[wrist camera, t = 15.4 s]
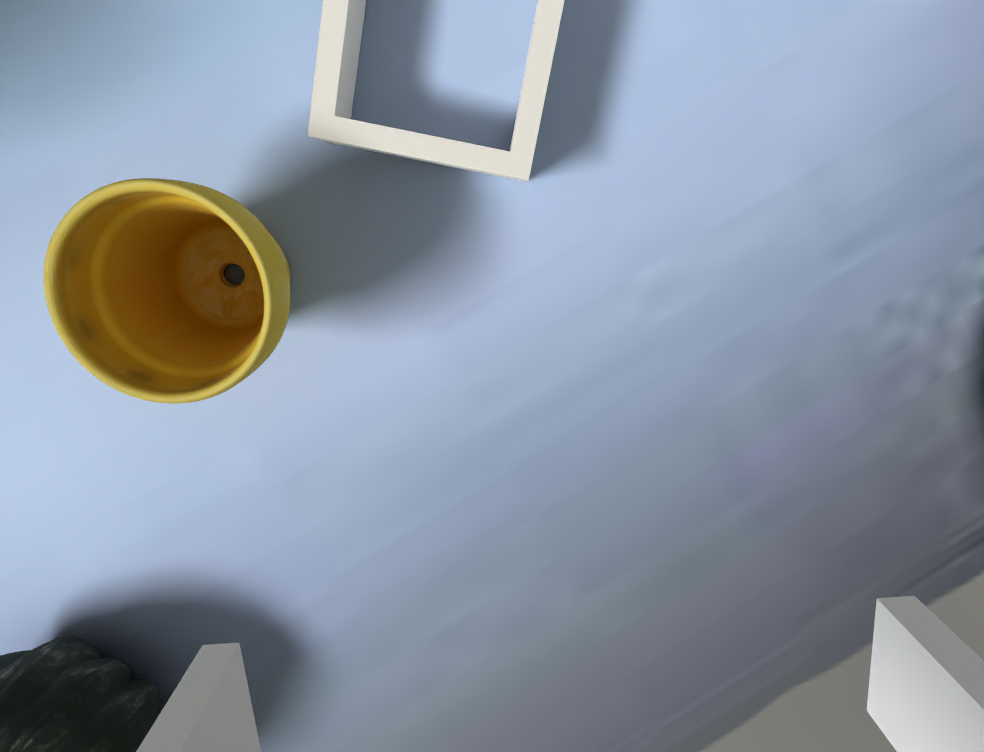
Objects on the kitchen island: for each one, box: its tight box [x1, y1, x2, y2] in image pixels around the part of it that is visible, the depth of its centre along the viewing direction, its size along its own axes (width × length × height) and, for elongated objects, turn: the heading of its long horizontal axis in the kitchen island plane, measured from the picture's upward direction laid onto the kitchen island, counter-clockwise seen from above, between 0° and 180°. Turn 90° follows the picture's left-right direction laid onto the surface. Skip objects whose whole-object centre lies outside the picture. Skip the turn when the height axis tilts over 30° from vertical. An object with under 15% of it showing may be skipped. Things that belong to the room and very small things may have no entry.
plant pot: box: [44, 178, 290, 403], centre depth 35 cm, size 10×10×10 cm
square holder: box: [308, 0, 564, 182], centre depth 35 cm, size 11×11×4 cm
